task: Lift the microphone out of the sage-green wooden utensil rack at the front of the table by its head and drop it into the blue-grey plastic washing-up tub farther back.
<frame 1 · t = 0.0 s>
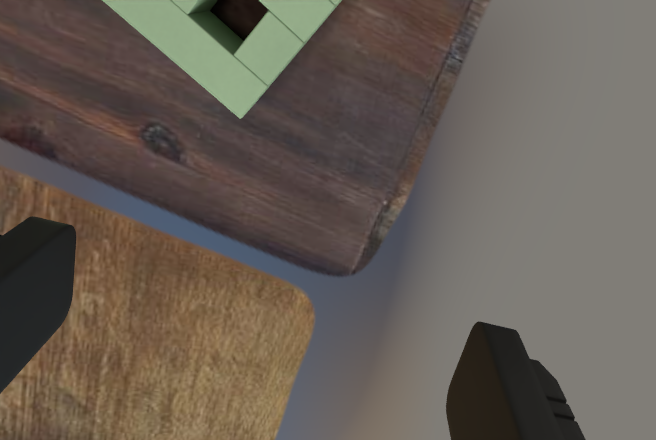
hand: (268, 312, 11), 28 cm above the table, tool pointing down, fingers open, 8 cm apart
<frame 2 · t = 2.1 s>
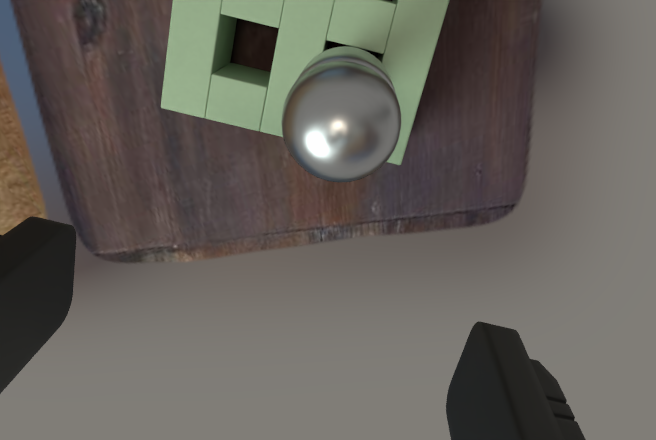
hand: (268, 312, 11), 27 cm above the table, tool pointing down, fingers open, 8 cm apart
rack: (314, 5, 35), on the table
microphone: (349, 64, 36), resting in rack
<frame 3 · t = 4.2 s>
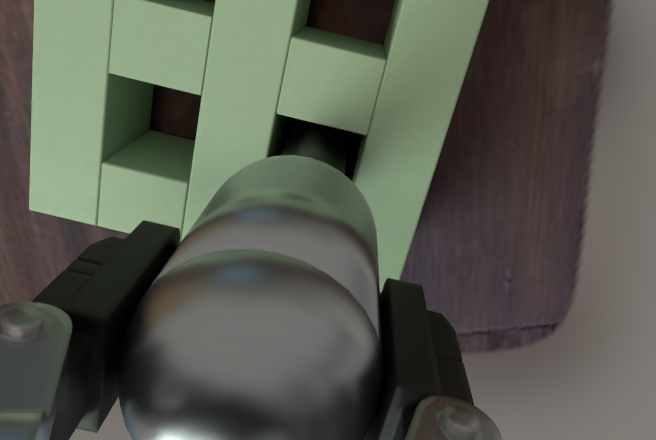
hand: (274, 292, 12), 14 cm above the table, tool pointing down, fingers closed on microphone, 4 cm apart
rack: (268, 50, 23), on the table
microphone: (321, 134, 25), resting in rack, touching gripper
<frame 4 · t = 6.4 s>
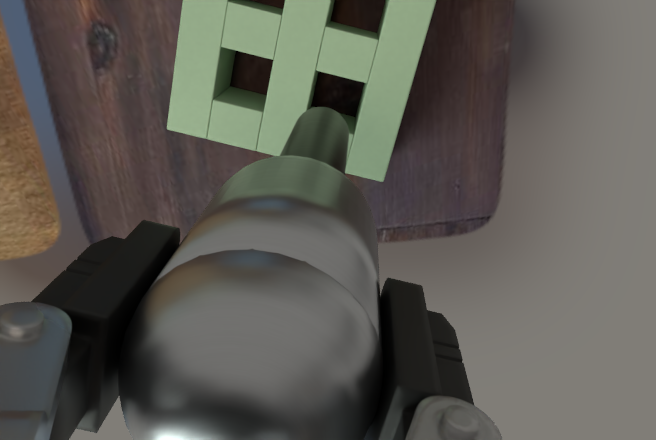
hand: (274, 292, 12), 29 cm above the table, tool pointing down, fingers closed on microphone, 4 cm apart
rack: (306, 36, 38), on the table
microphone: (321, 134, 25), point 16 cm above the table, touching gripper
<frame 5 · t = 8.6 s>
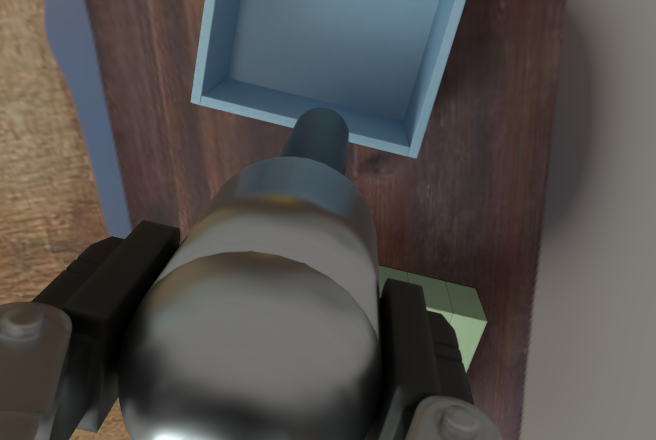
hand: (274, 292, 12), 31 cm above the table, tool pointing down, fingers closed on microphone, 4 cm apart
rack: (369, 339, 49), on the table
microphone: (321, 134, 25), point 17 cm above the table, touching gripper
tub: (332, 28, 40), on the table
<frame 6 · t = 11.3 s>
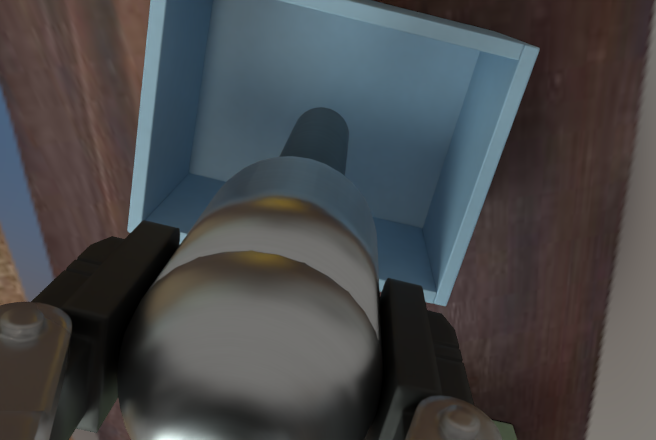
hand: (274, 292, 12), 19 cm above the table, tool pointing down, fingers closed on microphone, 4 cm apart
microphone: (321, 134, 25), point 5 cm above the table, touching gripper
tub: (327, 109, 30), on the table
when the fingers open (14 cm above the table, at t = 13.2 s): microphone stays where it is, resting on tub.
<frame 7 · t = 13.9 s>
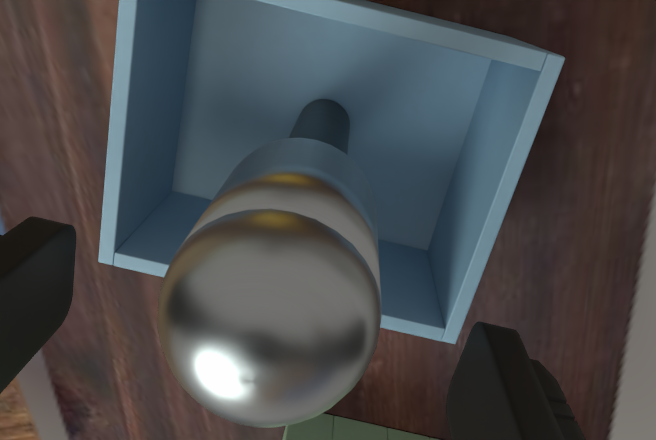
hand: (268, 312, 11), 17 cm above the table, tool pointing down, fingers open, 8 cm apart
microphone: (324, 124, 26), point 1 cm above the table, touching tub
tub: (323, 121, 27), on the table
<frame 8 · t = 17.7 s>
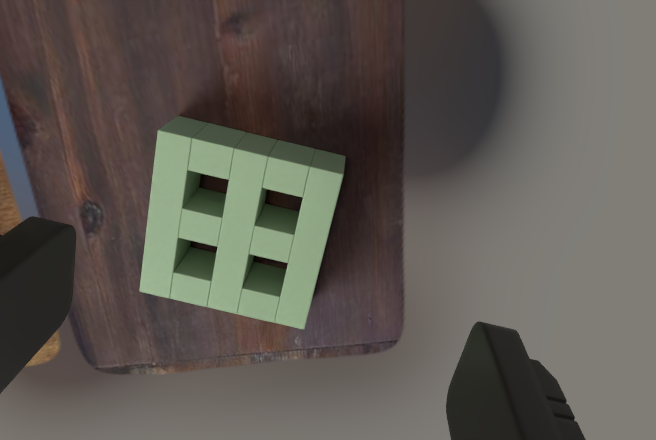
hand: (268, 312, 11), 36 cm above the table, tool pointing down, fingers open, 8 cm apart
rack: (247, 212, 50), on the table
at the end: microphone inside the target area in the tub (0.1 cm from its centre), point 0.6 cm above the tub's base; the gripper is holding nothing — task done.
